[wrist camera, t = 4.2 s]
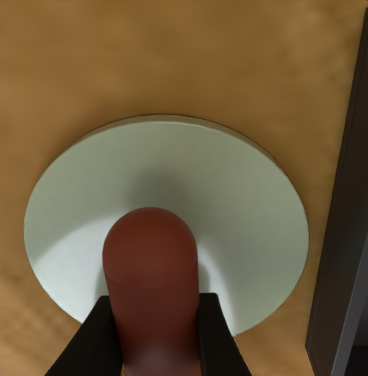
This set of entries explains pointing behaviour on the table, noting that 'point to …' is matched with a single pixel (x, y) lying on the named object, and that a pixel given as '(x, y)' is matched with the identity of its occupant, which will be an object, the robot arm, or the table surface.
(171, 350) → the sausage
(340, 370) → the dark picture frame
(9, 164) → the table surface
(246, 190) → the plate
